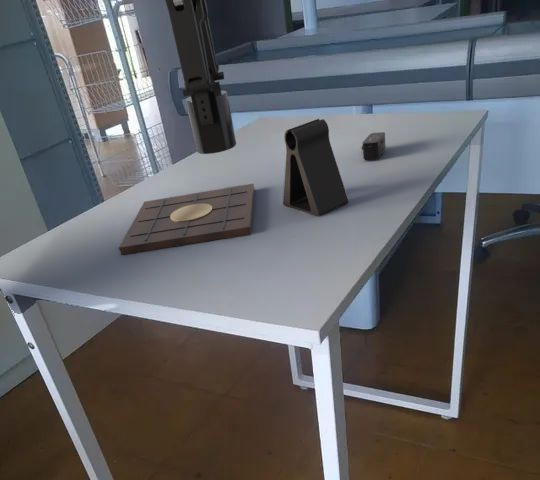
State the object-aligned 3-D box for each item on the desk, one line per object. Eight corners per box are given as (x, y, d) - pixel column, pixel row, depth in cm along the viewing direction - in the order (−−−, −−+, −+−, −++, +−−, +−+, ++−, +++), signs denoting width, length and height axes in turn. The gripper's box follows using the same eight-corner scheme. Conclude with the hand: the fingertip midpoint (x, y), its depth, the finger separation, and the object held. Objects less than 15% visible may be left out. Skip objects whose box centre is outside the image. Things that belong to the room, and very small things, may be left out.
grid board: (121, 255, 82) (118, 246, 82) (146, 208, 99) (143, 200, 98) (251, 234, 80) (249, 225, 80) (254, 189, 97) (253, 182, 96)
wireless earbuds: (387, 148, 103) (386, 130, 101) (377, 161, 98) (376, 142, 96) (363, 149, 105) (362, 132, 103) (352, 162, 100) (351, 144, 98)
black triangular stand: (283, 205, 88) (271, 127, 81) (311, 193, 90) (302, 116, 83) (318, 216, 81) (308, 133, 75) (348, 203, 84) (341, 121, 77)
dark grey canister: (194, 156, 66) (182, 103, 63) (199, 145, 70) (188, 95, 67) (235, 150, 66) (224, 96, 62) (237, 139, 70) (228, 88, 66)
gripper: (191, -115, 47) (243, 161, 60) (212, -95, 61) (250, 123, 75) (107, -96, 47) (177, 172, 61) (148, -81, 62) (197, 132, 75)
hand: (217, 144), depth 68 cm, fingers closed on dark grey canister, 5 cm apart
